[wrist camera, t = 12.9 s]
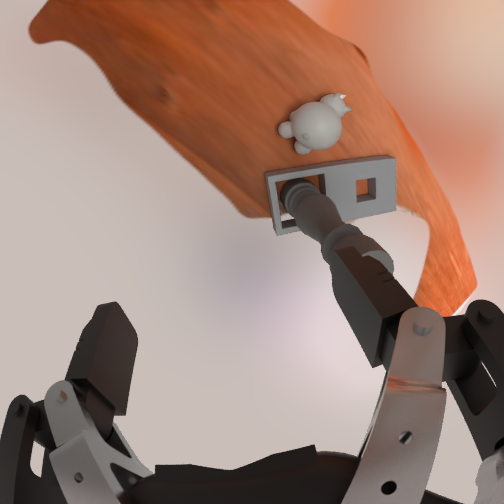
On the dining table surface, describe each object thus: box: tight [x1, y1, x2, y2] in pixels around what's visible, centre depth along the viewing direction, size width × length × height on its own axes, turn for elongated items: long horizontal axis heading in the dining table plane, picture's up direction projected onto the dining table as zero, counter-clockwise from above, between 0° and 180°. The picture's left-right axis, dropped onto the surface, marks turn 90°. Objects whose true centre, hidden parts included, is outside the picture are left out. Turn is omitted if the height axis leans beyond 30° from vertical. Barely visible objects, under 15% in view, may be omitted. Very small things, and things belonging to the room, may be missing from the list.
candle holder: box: [280, 178, 394, 275], centre depth 35 cm, size 6×6×25 cm
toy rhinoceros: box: [278, 93, 352, 155], centre depth 37 cm, size 7×12×8 cm, turn 132°
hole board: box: [264, 155, 396, 236], centre depth 45 cm, size 10×23×3 cm, turn 100°
